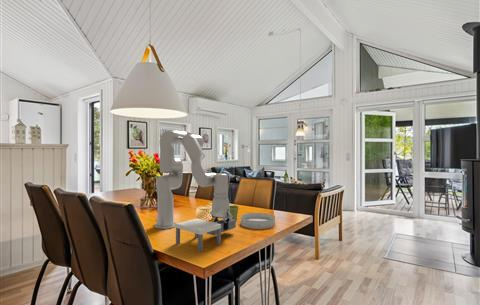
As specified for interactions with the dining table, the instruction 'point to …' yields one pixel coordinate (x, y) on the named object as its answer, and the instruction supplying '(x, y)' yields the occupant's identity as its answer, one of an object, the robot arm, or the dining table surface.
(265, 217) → the dish
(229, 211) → the robot arm
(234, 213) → the plant pot
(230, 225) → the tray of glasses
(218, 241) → the low table
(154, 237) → the dining table surface
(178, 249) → the dining table surface
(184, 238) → the dining table surface
